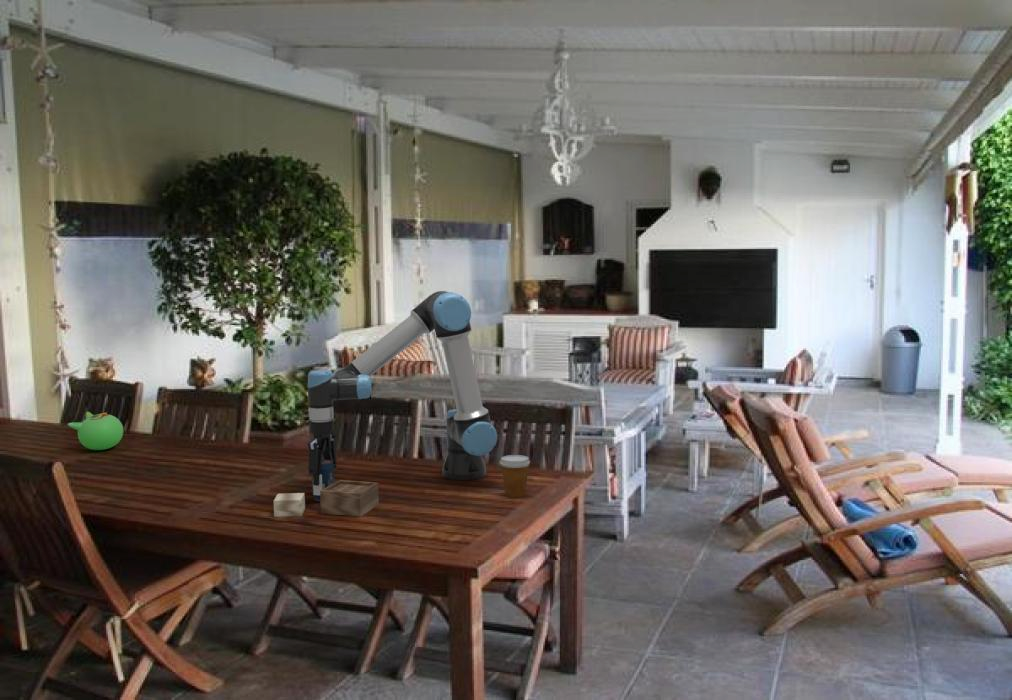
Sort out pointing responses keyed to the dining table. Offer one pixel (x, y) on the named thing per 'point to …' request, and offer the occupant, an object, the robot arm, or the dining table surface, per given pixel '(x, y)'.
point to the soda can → (325, 475)
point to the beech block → (289, 504)
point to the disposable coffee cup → (515, 474)
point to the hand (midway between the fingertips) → (323, 491)
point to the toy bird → (98, 431)
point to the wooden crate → (349, 498)
